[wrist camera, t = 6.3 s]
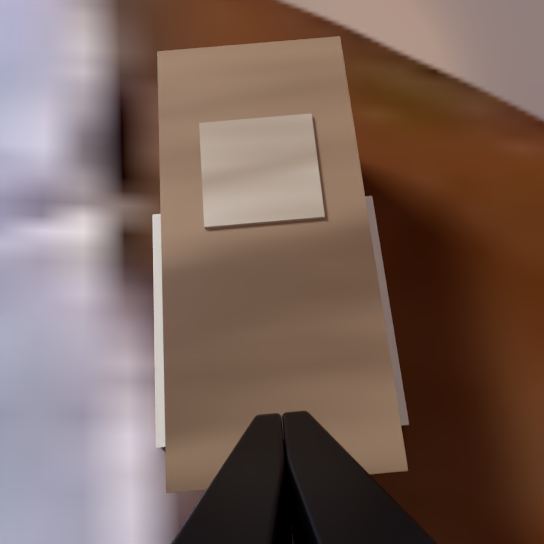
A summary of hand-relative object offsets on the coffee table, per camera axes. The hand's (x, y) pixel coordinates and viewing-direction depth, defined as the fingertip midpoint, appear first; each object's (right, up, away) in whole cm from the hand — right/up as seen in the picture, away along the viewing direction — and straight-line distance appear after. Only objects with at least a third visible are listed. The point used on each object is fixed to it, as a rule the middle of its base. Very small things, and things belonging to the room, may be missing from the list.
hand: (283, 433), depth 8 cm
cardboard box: (0, -2, +4) cm, 4 cm away
